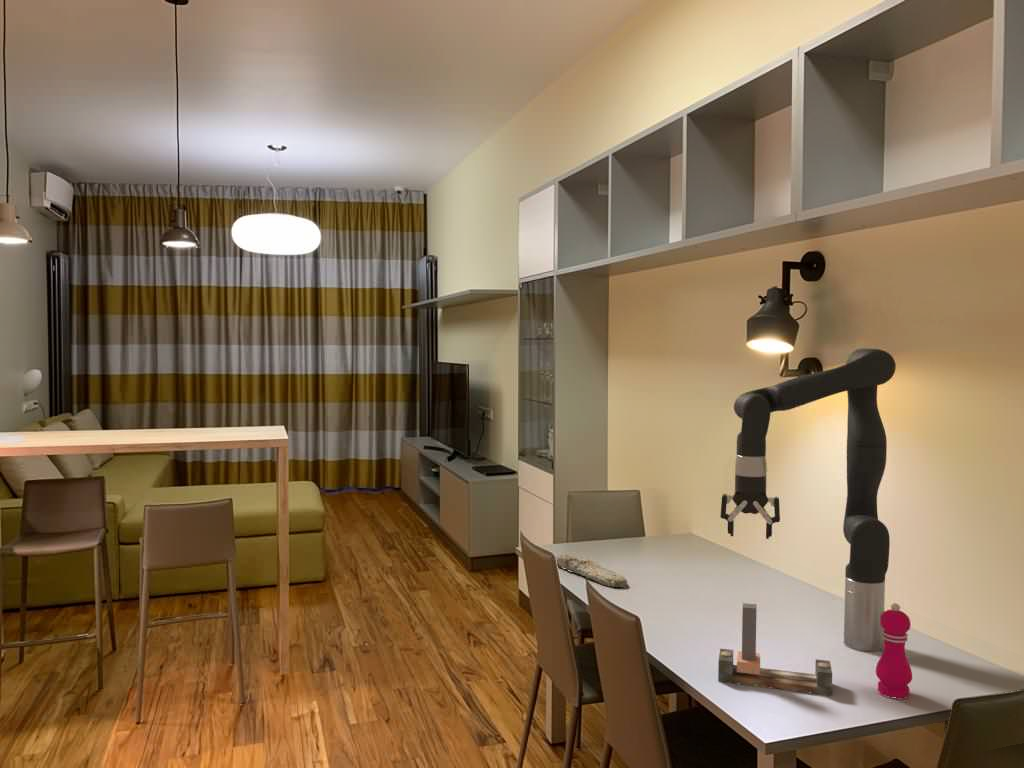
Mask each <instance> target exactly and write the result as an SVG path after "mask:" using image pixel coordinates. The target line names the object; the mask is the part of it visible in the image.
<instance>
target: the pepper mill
mask: <svg viewBox="0 0 1024 768" xmlns="http://www.w3.org/2000/svg"><path fill="white" fill-rule="evenodd" d="M890 608H891V609H887V610H884V611H885V612H884V613H883V614H882V615H881V618H880V624H881V626H882V628H883V629H884V630H883V631H882V633H883V635H882V637H883V638H884V642H885V645H884V651H882V654H881V656H880V657H879V660H878V661H877V664H876V667H875V674H876V676H877V678H878V680H879V681H878V682H877V691H879V692H880V693H881V694H880V693H879V692H878V693H879V694H880V695H882V694H883V695H882V696H884V695H886V696H889V697H896V698H905V697H908V696H909V697H910V687H909V684H910V683H911V682H912V681H913V671H912V667H911V666H910V663H909V660H908V657H907V656H906V651H905V650H906V646H905V645H906V643H907V642H908V640H909V639H908V634H907V632H909V631H910V629H911V619H910V617H909V615H907V614H906V613H905V611H904V612H903V611H901V606H900V605H899V604H898V603H895V602H894V603H892V604H891V607H890ZM886 696H885V697H886ZM889 697H888V698H889ZM909 697H908V698H909ZM905 699H906V698H905Z"/></svg>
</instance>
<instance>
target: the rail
mask: <svg viewBox="0 0 1024 768" xmlns="http://www.w3.org/2000/svg"><path fill="white" fill-rule="evenodd" d="M832 670H833V669H832V665H831V660H826V659H815V670H814V671H815V672H814V673H815V674H814V673H807V672H798V671H790V670H788V671H787V670H783V669H782V670H781V669H773V668H765V667H760V675H758V674H750V673H741V672H737V664H734V649H727V648H720V649H719V656H718V673H717V675H718V678H717V679H718V681H717V682H719V681H722V682H721V683H727V682H731V683H730V684H735V683H740V684H739V685H743V684H749V685H748V686H751V685H757V686H756V687H759V686H765V687H764V688H767V687H772V688H771V689H774V688H779V689H778V690H782V689H786V690H785V691H790V690H795V691H794V692H798V691H803V692H802V693H806V692H811V693H810V694H814V693H819V694H818V695H822V694H827V695H826V696H830V695H832V696H833V671H832Z"/></svg>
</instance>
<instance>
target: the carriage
mask: <svg viewBox="0 0 1024 768" xmlns="http://www.w3.org/2000/svg"><path fill="white" fill-rule="evenodd" d="M757 608H758V607H757V604H756V603H748V602H747V603H746V602H743V603H742V615H741V617H742V621H741V622H742V624H741V627H742V629H741V630H742V631H741V632H742V633H741V638H742V639H741V650H737V658H736V665H737V672H741V673H750V674H758V675H760V668H761V653H759V652H757V649H756V648H757Z"/></svg>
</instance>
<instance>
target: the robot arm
mask: <svg viewBox="0 0 1024 768" xmlns="http://www.w3.org/2000/svg"><path fill="white" fill-rule="evenodd" d="M846 359H847V360H846V362H845V364H843V365H841V366H838V367H834V368H831V369H826V370H822V371H817V372H812V373H809V374H804V375H800V376H797V377H794V378H791V379H787V380H784V381H782V382H779V383H777V384H774V385H772V386H767V387H762V388H757V389H754V390H750V391H747V392H744V393H742V394H740V395H739V396H738V397H737V398H736V399H735V401H734V404H733V410H734V412H735V415H736V416H737V417H738V418H740V419H741V430H740V432H739V433H738V434H737V436H736V456H735V462H734V466H735V467H734V493H733V495H731V494H727V493H723V494H722V496H721V504H720V505H721V507H720V518H721V519H723V520H726V521H727V533H728V534H729V535H730V536H729V537H734V532H735V531H734V530H735V529H734V527H735V524H734V523H735V522H734V520H735V518H736V517H737V516H738V515H739V514H740V513H742V514H747V515H748V514H752V515H757V514H760V516H762V517H763V519H764V521H766V522H765V525H766V526H765V539H766V540H770V538H771V537H772V535H773V524H775V523H779V522H780V521H781V513H780V499H779V498H780V497H779V496H775V497H768V495H767V472H768V467H767V458H766V457H767V455H766V454H767V453H766V452H767V441H766V438H767V434H768V431H769V425H770V421H771V419H770V418H771V414H772V413H774V412H785V411H789V410H792V409H795V408H799V407H801V406H804V405H807V404H810V403H813V402H816V401H819V400H821V399H824V398H827V397H830V396H834V395H837V394H840V393H844V392H847V430H846V431H847V435H846V491H847V492H846V503H845V510H844V511H845V512H844V517H843V518H844V519H843V524H842V527H843V529H842V531H843V536H844V539H845V540H846V542H847V543H848V544H849V546H850V548H849V551H850V552H849V562H848V564H846V566H845V571H844V572H845V573H844V574H845V576H844V577H845V578H844V579H845V580H844V616H843V617H844V618H843V619H844V622H843V623H844V624H843V643H844V645H845V646H847V647H849V648H851V649H854V650H858V651H861V652H879V651H882V652H883V651H884V645H885V642H884V638H883V637H882V635H883V633H882V631H883V630H884V629H883V628H882V626H881V624H880V618H881V615H882V614H883V613H884V612H885V611H886V610H885V599H886V598H885V596H886V594H885V591H886V589H885V588H886V574H887V573H888V568H889V560H890V543H891V542H890V541H891V539H890V538H891V537H890V533H889V530H888V527H887V526H886V524H885V523H883V522H882V521H881V520H880V519H879V515H878V514H879V513H878V491H879V488H880V485H881V483H882V479H883V476H884V473H885V470H886V465H887V450H888V449H887V447H888V446H887V435H886V430H885V427H884V424H883V420H882V418H881V415H880V412H879V407H878V406H879V405H878V386H881V385H884V384H886V383H887V382H889V381H890V380H891V379H892V378H893V377H894V375H895V373H896V362H895V359H894V357H893V355H891V354H890V353H889V352H887V351H885V350H882V349H881V348H880V349H879V348H859V349H856V350H854V351H853V352H851V353H850V354H849V356H848V358H846ZM731 501H733V503H734V504H735V505H736V506H735V507H734V509H733V510H732V511H731V512H730V513H729V514H728V513H727V507H728V506H727V505H728V504H730V503H731ZM768 503H770V506H771V507H774V509H773V510H774V516H772V517H771V515H770V514H769V512H768V511H767V510H766V509H765V506H766V505H767V504H768Z"/></svg>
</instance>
